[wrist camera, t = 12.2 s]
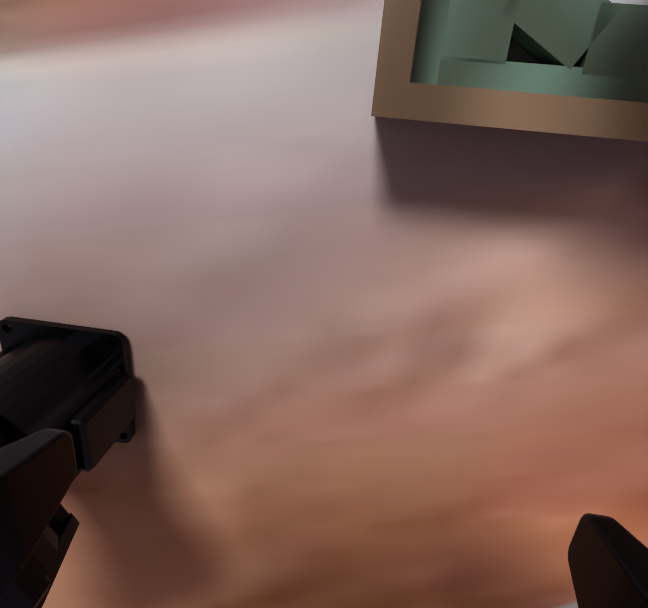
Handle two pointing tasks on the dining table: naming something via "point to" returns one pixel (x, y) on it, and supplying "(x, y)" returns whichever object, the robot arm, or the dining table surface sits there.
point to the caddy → (516, 65)
